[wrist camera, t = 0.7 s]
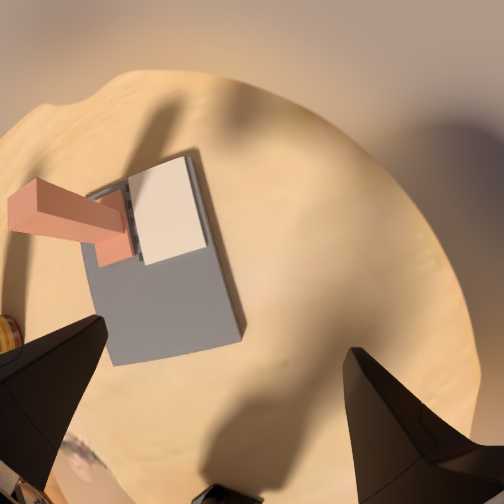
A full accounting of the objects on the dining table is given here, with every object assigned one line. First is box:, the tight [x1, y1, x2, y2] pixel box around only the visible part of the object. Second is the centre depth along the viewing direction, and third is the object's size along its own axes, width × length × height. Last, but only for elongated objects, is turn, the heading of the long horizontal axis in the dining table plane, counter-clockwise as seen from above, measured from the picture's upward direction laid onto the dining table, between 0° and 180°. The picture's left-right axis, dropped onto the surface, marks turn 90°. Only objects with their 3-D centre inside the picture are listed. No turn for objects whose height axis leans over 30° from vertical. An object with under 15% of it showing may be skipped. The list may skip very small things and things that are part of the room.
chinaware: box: [18, 482, 50, 504], centre depth 14 cm, size 28×17×17 cm, turn 169°
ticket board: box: [80, 156, 242, 366], centre depth 22 cm, size 16×12×2 cm
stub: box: [8, 177, 135, 267], centre depth 16 cm, size 6×4×11 cm, turn 16°
